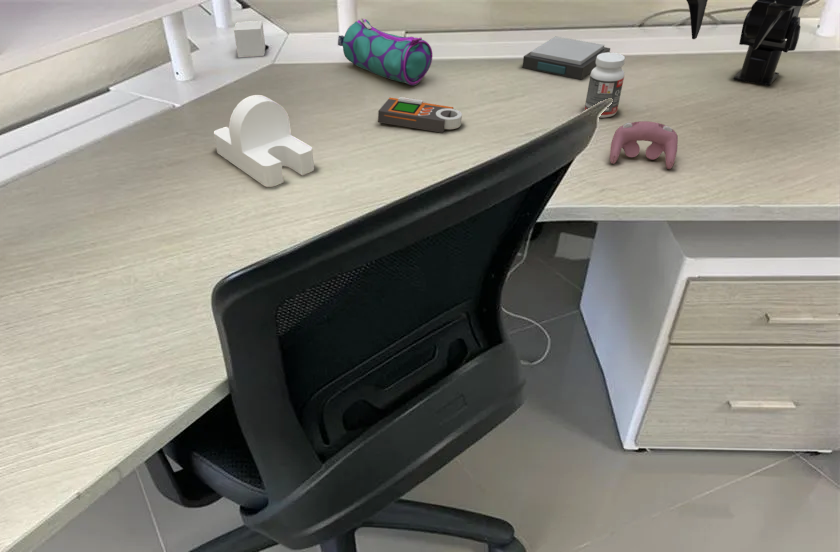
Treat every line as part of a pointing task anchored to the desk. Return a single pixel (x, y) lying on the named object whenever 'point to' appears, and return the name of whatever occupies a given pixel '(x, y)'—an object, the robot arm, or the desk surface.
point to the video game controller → (645, 131)
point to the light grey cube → (249, 38)
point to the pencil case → (386, 53)
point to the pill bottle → (606, 82)
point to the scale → (565, 57)
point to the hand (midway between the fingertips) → (723, 43)
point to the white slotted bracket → (263, 141)
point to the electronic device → (419, 115)
